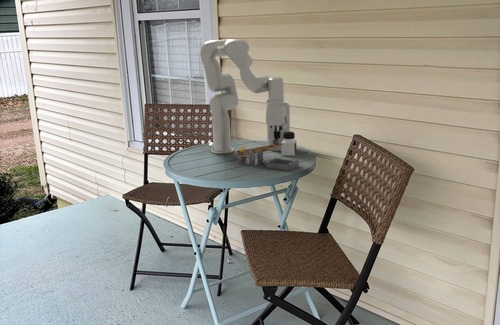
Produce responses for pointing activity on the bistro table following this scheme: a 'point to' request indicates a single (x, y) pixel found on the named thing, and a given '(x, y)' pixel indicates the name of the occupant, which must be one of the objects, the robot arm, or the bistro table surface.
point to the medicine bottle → (288, 144)
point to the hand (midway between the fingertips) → (277, 138)
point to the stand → (251, 159)
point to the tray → (282, 164)
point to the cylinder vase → (271, 133)
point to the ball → (242, 149)
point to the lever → (260, 148)
